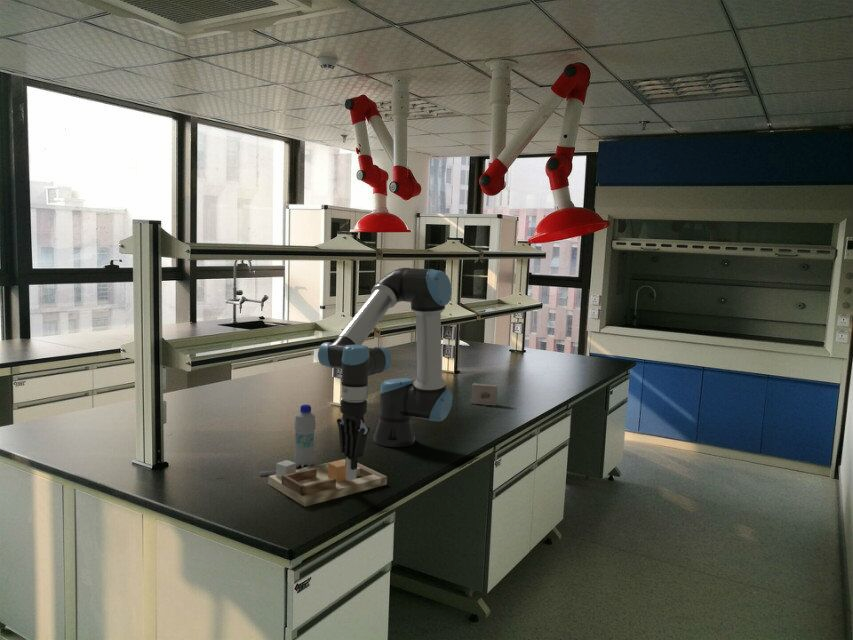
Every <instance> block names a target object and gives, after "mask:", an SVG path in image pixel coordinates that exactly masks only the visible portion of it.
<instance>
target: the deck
mask: <svg viewBox="0 0 853 640" xmlns="http://www.w3.org/2000/svg"><path fill="white" fill-rule="evenodd" d="M339 460H340V459H338V460H337V461H339ZM341 460H342V461H344V462H346V458H343V459H341ZM335 461H336V460H335ZM335 461H333V462H335ZM330 462H331V461H330ZM330 462H324V463H319V464H315V465H312V466H310V467H307V466H305V467H304V468H302V467H301V468H299V469H296V472H299V471H303V470H308V469H312V468H316V469H317V475H316V477H314V478H310V479H306V480H302V481H298V482H299V483H301V484H302V485H307V484H311V483H315V482H319V481H323V480H327V479H330V478H328V463H330ZM267 481H268V485H269V486H271V488H274V489H275V490H277V491H278V492H281V494H283V495H285V496H287V497H288V498H290V499H291V500H292V501H295V502H296V503H298V504H299V505H301V506H302V507H308V506H313V505H315V504H319V503H323V502H326V501H331V500H335V499H338V498H342V497H346V496H349V495H353V494H357V493H361V492H364V491H369V490H371V489H375V488H378V487H382V486H386V485H388V484H387V483H388V476H387V475H385V474H383V473H380V472H378V471H376V470H374V469H372V468H371V467H370V468H369V467H367V466H365V465H363V464H361V463H359V462H357V470H356V479H353V480H350V481H348V480H343V481H339V482H336V487H335V488H332V489H328V490H324V491H320V492H316V493H312V494H308V495H304V496H301V495H300V494H298V493H296V492H295V491H293V490H291V489H290V488H288V487H286V486H285V485H283V484H282V478H279V477H276V475H269V476H268V480H267Z"/></svg>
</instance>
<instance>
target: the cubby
mask: <svg viewBox="0 0 853 640" xmlns="http://www.w3.org/2000/svg"><path fill="white" fill-rule="evenodd" d="M316 475H317V469H316V468H312V469H308V470H303V471H299V472H294V473H290V474H286V475H282V484H283V485H285V486H286V487H288V488H290V489H291V490H293V491H295V492H296V493H298V494H300V495H301V496H304V495H308V494H312V493H316V492H320V491H324V490H328V489H332V488H335V487H336V479H335V478H332V479H327V480H323V481H319V482H315V483H311V484H307V485H302V484H301V483H299V482H298V481H302V480H306V479H310V478H314V477H316Z"/></svg>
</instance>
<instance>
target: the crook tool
mask: <svg viewBox="0 0 853 640" xmlns="http://www.w3.org/2000/svg"><path fill="white" fill-rule="evenodd" d="M271 475H276V469H274V470H263V471H259V476H260V477H266V476H267V477H269V476H271Z"/></svg>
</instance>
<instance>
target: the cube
mask: <svg viewBox="0 0 853 640" xmlns="http://www.w3.org/2000/svg"><path fill="white" fill-rule="evenodd" d="M338 460H339V461H338ZM338 460H335V462H334V461H330V463H329V462H327V463H328V478H330V479H332V478H335V479H336V482H339V481H343V480H346V465H345V463H346V462H344V461H342V460H343V459H338Z"/></svg>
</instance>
